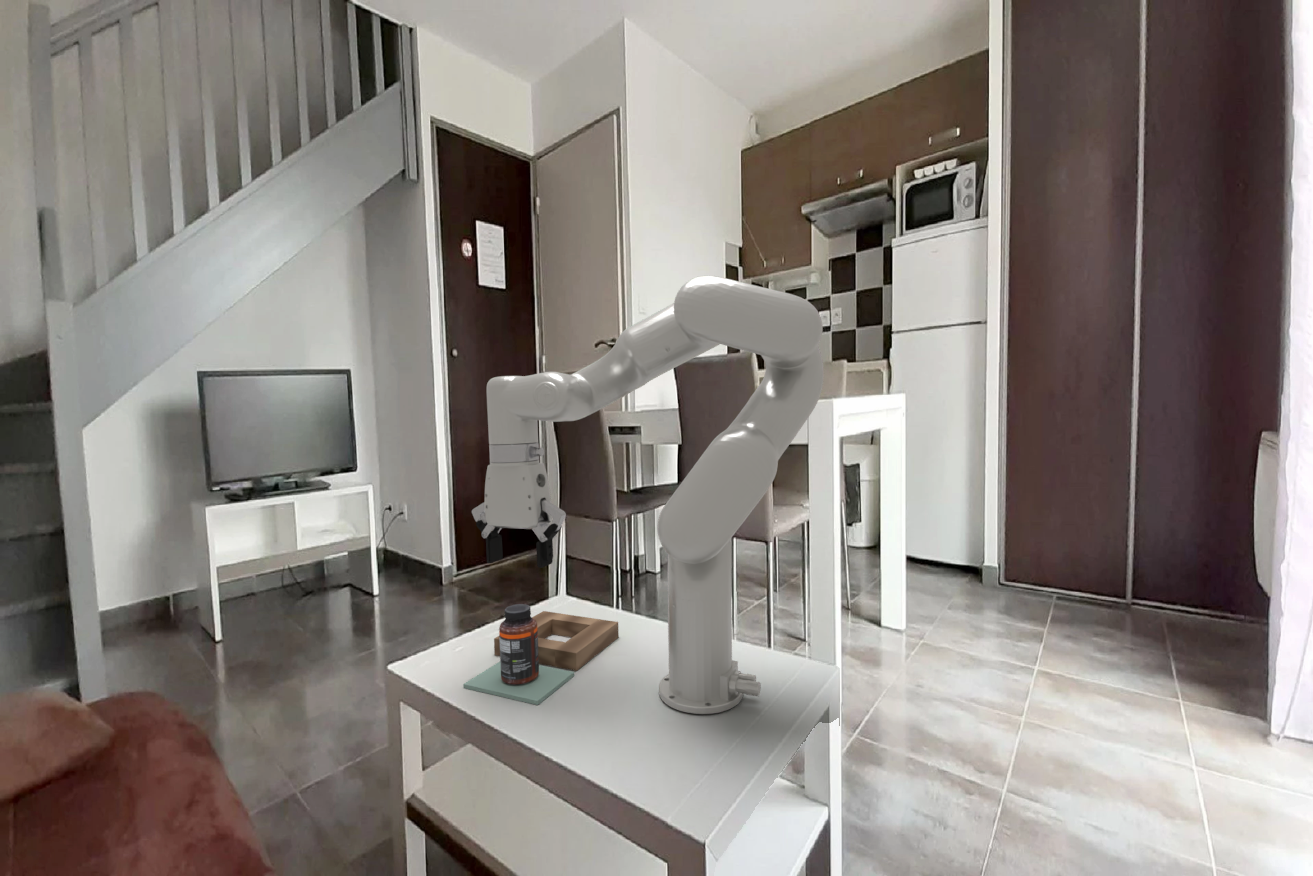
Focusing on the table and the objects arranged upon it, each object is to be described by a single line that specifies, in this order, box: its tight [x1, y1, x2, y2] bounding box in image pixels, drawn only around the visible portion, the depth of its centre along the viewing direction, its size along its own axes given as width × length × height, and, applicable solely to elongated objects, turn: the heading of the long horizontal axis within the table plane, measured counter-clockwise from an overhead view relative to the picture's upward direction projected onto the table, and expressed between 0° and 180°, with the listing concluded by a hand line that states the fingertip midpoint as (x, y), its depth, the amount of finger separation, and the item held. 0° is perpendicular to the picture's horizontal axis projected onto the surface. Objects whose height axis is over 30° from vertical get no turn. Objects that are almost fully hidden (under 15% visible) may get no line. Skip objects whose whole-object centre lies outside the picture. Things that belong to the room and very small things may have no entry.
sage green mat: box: [462, 661, 575, 706], centre depth 89 cm, size 14×10×1 cm
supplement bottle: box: [498, 603, 540, 685], centre depth 88 cm, size 6×6×11 cm
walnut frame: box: [493, 610, 620, 672], centre depth 102 cm, size 17×15×3 cm
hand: (519, 563), depth 88 cm, fingers open, 9 cm apart
